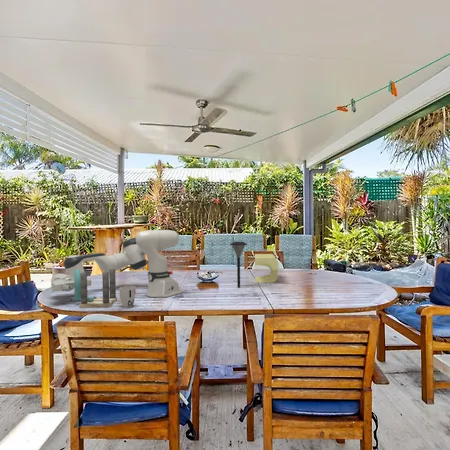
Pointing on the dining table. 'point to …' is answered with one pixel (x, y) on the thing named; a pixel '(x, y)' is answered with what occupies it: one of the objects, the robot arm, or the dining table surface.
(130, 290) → the cup
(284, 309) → the dining table surface
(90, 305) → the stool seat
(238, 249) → the solar garden light
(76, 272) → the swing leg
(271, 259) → the yellow curved hook shape
